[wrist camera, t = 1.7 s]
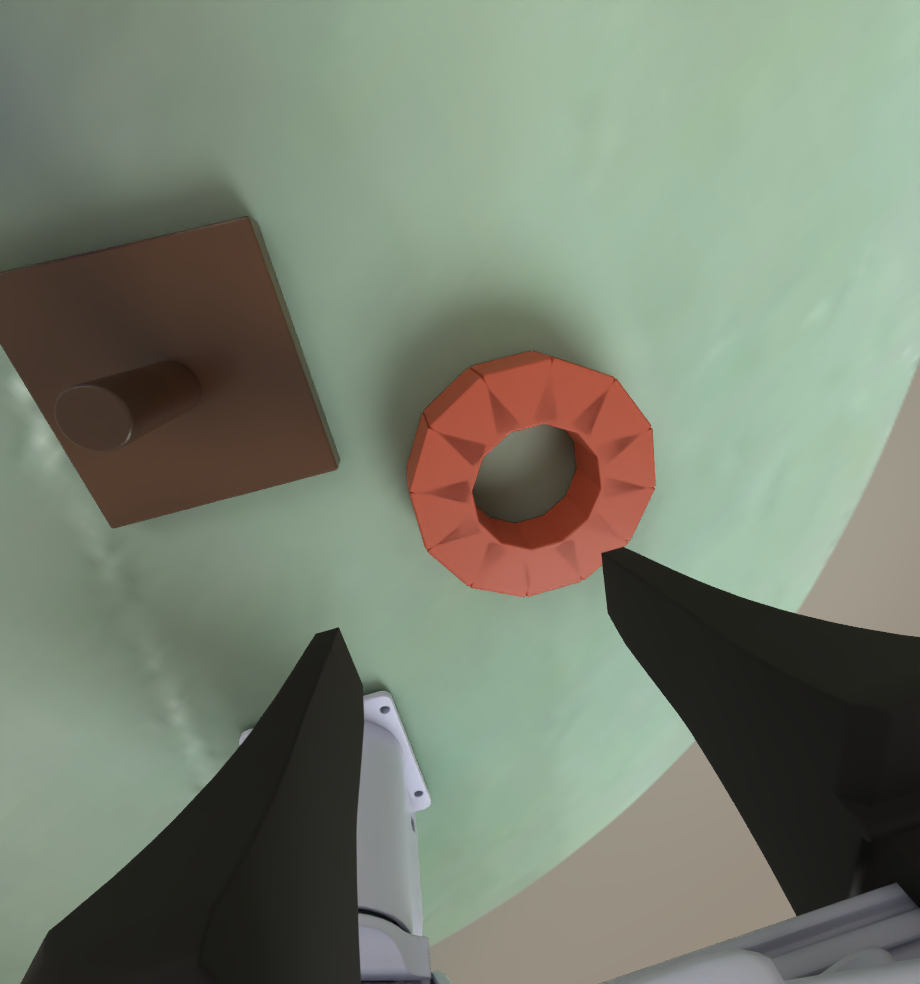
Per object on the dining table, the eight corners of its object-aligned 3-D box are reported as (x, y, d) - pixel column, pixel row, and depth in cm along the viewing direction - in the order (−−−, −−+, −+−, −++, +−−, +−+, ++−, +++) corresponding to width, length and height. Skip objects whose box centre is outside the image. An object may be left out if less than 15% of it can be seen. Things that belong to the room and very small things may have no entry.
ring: (631, 533, 23) (660, 559, 21) (439, 587, 23) (446, 621, 20) (615, 328, 19) (648, 332, 17) (381, 388, 19) (381, 400, 16)
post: (340, 460, 20) (324, 524, 14) (126, 516, 19) (18, 607, 13) (257, 221, 16) (189, 176, 10) (-10, 282, 15) (-237, 270, 10)
